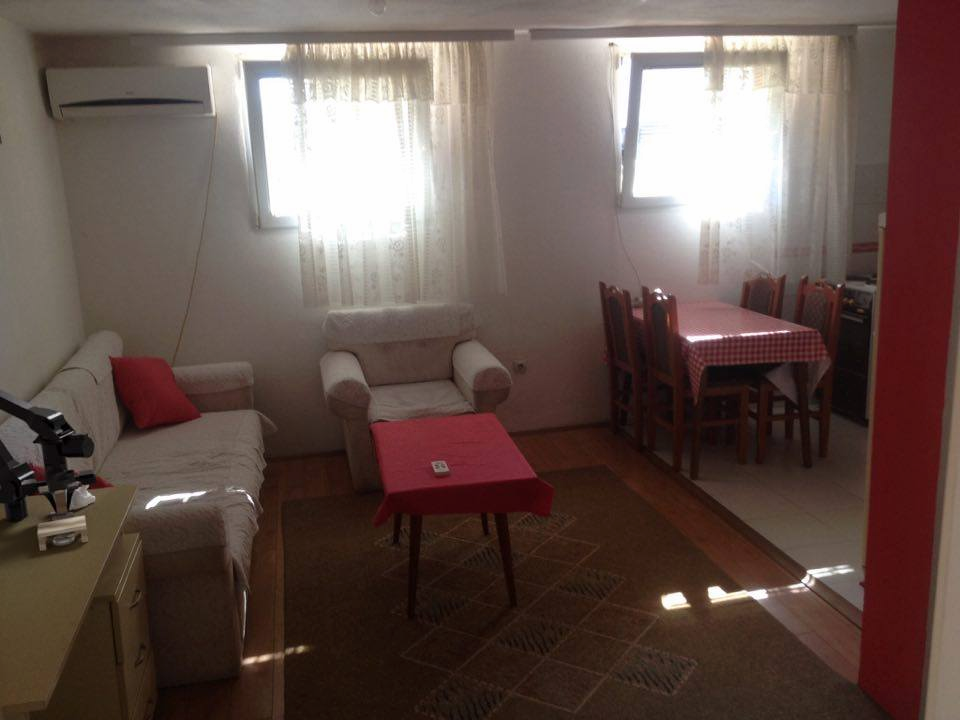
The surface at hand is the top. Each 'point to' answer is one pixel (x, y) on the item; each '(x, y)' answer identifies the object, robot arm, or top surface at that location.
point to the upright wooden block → (61, 508)
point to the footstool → (61, 529)
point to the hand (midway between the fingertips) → (62, 511)
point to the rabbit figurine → (79, 498)
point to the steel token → (63, 539)
